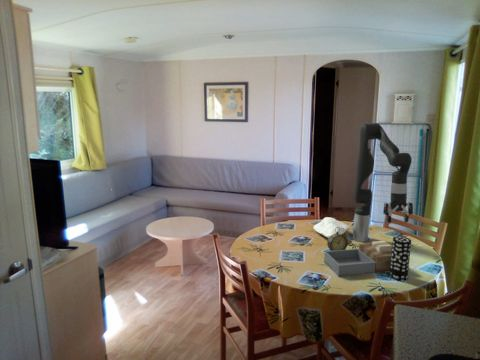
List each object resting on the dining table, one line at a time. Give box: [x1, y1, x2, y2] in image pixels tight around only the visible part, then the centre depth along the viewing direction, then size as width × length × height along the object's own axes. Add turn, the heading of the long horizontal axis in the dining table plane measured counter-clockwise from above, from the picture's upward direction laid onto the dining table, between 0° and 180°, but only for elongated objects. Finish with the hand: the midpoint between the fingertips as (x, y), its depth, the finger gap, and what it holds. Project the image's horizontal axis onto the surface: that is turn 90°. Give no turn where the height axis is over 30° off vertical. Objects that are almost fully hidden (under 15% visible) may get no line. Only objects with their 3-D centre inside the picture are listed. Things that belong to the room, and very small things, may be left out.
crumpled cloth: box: [313, 216, 351, 239], centre depth 241 cm, size 24×35×9 cm
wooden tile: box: [371, 240, 392, 252], centre depth 194 cm, size 7×7×3 cm
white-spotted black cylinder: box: [389, 236, 412, 282], centre depth 180 cm, size 8×8×20 cm
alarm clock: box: [326, 227, 348, 251], centre depth 209 cm, size 11×5×16 cm, turn 105°
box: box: [323, 248, 376, 278], centre depth 192 cm, size 18×20×6 cm
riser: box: [358, 242, 392, 274], centre depth 195 cm, size 18×14×9 cm
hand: (397, 222), depth 188 cm, fingers open, 8 cm apart
